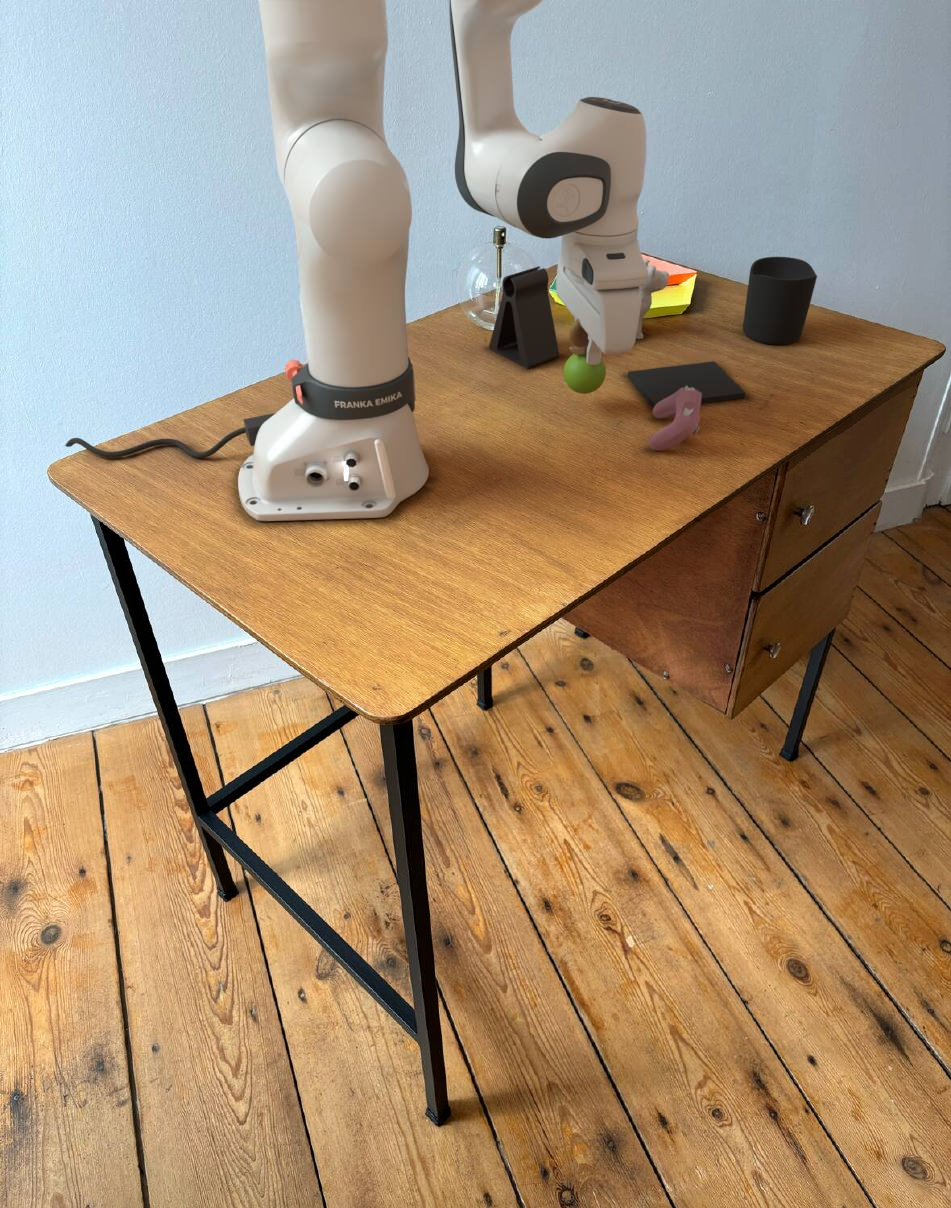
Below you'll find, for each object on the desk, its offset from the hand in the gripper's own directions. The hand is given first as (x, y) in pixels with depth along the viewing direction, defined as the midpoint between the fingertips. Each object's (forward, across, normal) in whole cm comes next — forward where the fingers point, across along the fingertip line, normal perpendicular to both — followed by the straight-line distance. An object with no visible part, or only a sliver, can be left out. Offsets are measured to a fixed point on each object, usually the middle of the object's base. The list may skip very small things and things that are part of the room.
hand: (588, 358), depth 123 cm
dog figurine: (+7, -21, +13) cm, 26 cm away
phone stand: (+7, -18, -3) cm, 20 cm away
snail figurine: (+5, 0, 0) cm, 5 cm away
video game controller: (+7, +10, +9) cm, 15 cm away
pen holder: (+6, -15, +35) cm, 38 cm away
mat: (+7, -2, +15) cm, 17 cm away
